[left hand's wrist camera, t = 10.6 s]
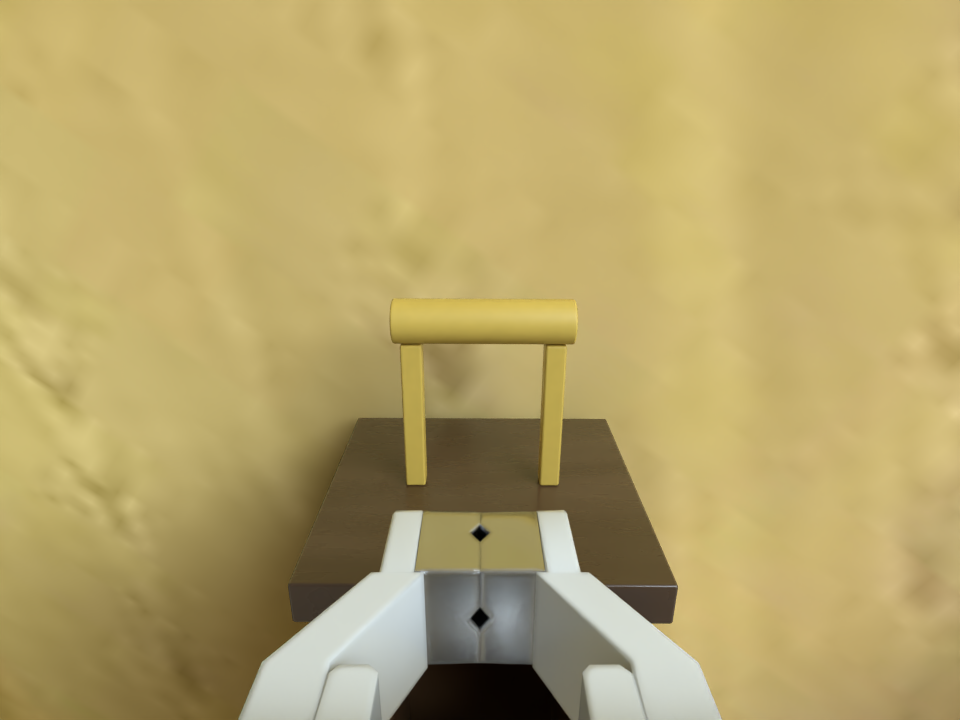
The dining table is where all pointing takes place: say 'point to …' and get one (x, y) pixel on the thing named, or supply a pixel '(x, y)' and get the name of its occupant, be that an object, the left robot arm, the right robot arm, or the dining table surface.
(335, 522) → the drawer
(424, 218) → the dining table surface
